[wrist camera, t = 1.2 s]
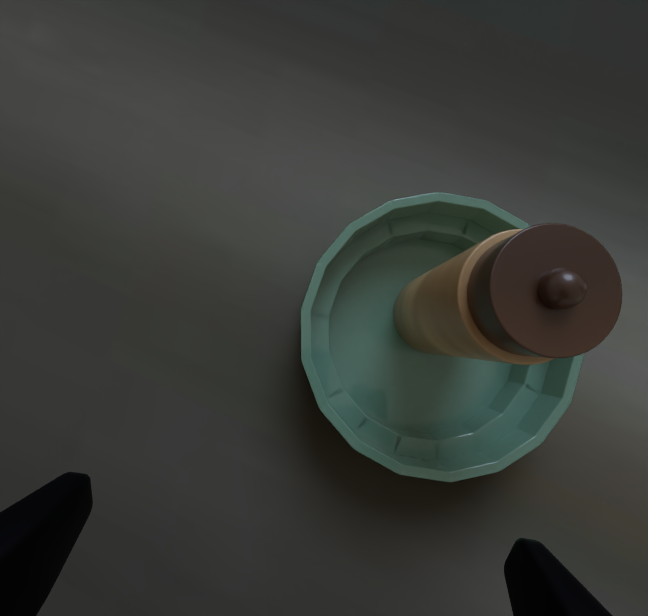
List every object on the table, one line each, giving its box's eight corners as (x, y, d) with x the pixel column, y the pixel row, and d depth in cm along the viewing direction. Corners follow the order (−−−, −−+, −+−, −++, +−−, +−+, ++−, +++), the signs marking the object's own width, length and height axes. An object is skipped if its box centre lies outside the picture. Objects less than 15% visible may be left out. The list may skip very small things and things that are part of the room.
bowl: (560, 427, 22) (615, 446, 18) (325, 478, 22) (329, 509, 18) (507, 200, 23) (548, 172, 19) (280, 241, 23) (275, 219, 19)
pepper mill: (478, 345, 22) (677, 353, 10) (402, 360, 22) (514, 386, 10) (461, 269, 22) (634, 190, 10) (386, 283, 22) (476, 218, 10)
